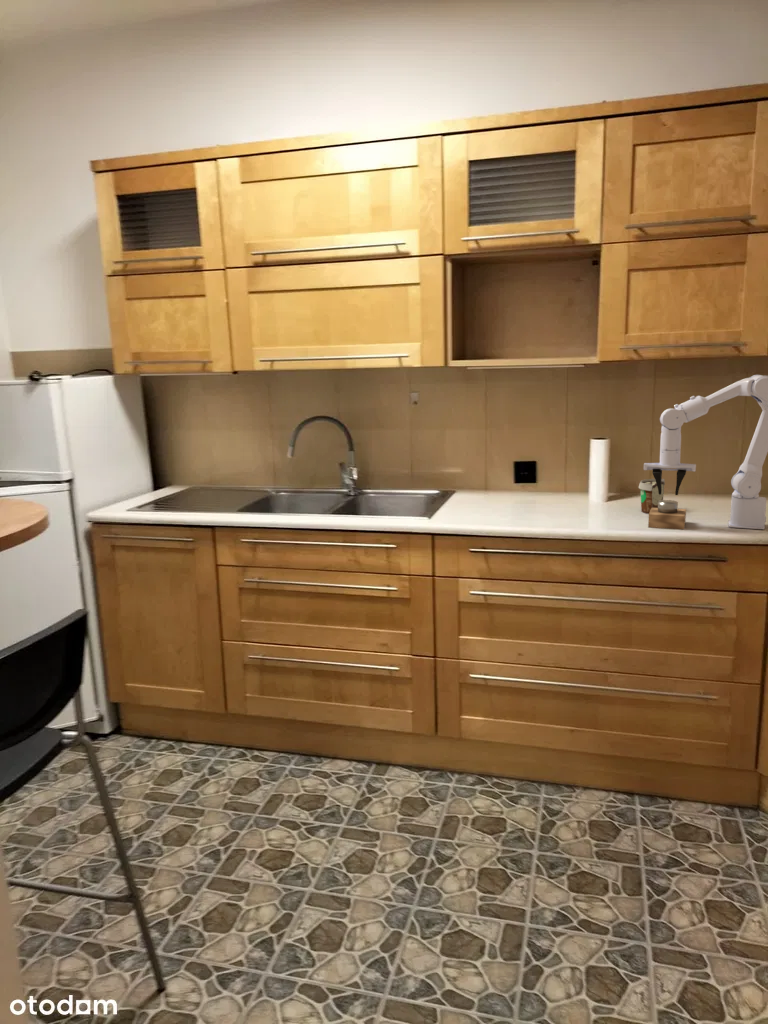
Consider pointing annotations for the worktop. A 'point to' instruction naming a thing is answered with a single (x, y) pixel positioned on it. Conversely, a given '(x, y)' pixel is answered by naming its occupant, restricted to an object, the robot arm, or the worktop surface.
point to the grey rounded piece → (667, 506)
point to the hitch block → (667, 519)
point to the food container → (650, 494)
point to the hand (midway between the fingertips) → (668, 494)
